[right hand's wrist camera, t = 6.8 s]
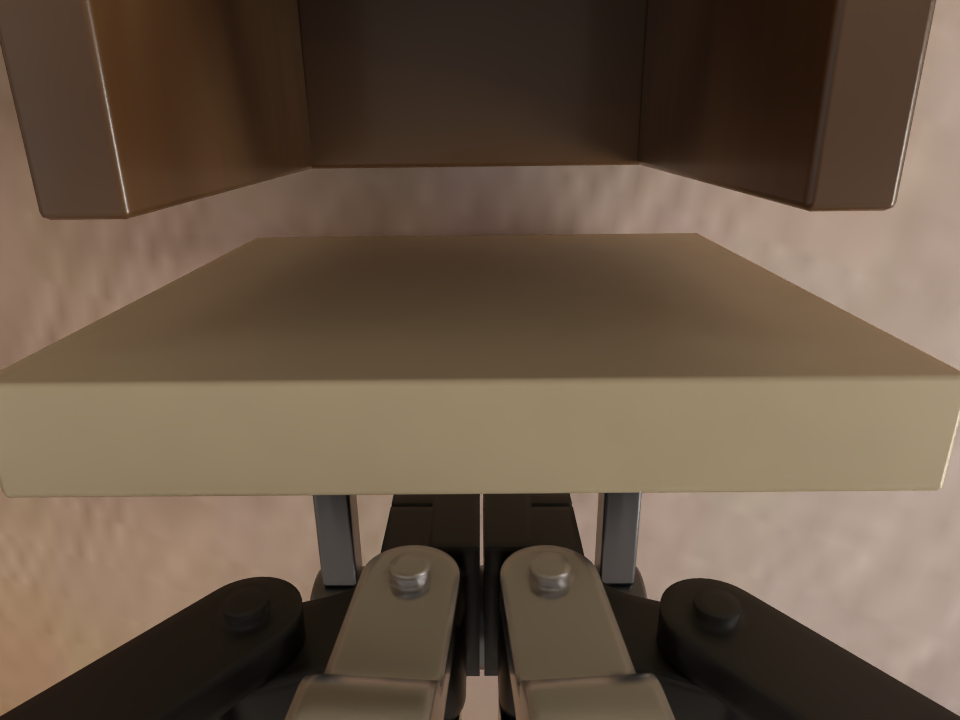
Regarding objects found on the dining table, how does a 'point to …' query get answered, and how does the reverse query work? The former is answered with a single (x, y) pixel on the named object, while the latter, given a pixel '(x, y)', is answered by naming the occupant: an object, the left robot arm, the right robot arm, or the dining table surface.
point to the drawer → (469, 258)
